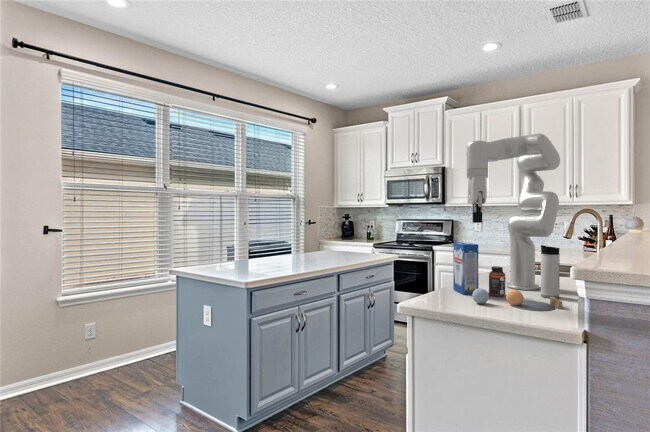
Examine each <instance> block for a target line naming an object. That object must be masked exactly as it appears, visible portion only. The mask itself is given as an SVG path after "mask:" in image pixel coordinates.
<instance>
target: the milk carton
mask: <svg viewBox="0 0 650 432" xmlns="http://www.w3.org/2000/svg"><path fill="white" fill-rule="evenodd" d="M452 250H453V251H452V253H453V258H452V259H453V260H452V261H453V265H452V266H453V268H452V269H453V271H452V272H453V273H452V275H453V279H452V280H453V281H452V282H453V284H452V285H453V287H452V288H453V291H455V292H457V293H459V294H461V295H463V296H472V294H473V292H474V290H476V289H478V288H479V244H476V243H474V242H473V243H472V242H453V244H452Z"/></svg>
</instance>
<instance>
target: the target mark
mask: <svg viewBox="0 0 650 432" xmlns="http://www.w3.org/2000/svg"><path fill="white" fill-rule="evenodd" d="M511 306H512V307H514V308H517V309H521V310H524V311H525V310H527V311H533V312H534V311H536V312H548V311H553V310H555V309H556V307H555V306H553V305H551V304H550V303H548V302H543V301H537V300H536V301H535V300H523V302H522V303H521V304H520V305H517V306H515V305H511Z"/></svg>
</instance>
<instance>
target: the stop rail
mask: <svg viewBox="0 0 650 432" xmlns="http://www.w3.org/2000/svg"><path fill="white" fill-rule="evenodd" d="M549 304H551V305H553V306H555V309H558V310H562V309H563V301H562V300H560V299H559V298H557V299H556V298H554V297H550V298H549Z"/></svg>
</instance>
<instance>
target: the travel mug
mask: <svg viewBox="0 0 650 432" xmlns="http://www.w3.org/2000/svg"><path fill="white" fill-rule="evenodd" d="M560 261H561V259H560V247H556V246H555V247H554V246H549V245H547V246H546V245H544V244H543V245H542V244H541V245H540V297H542V298H544V299H550V297H554V298H556V299H559V298H560V274H561V273H560V267H561V266H560Z"/></svg>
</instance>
